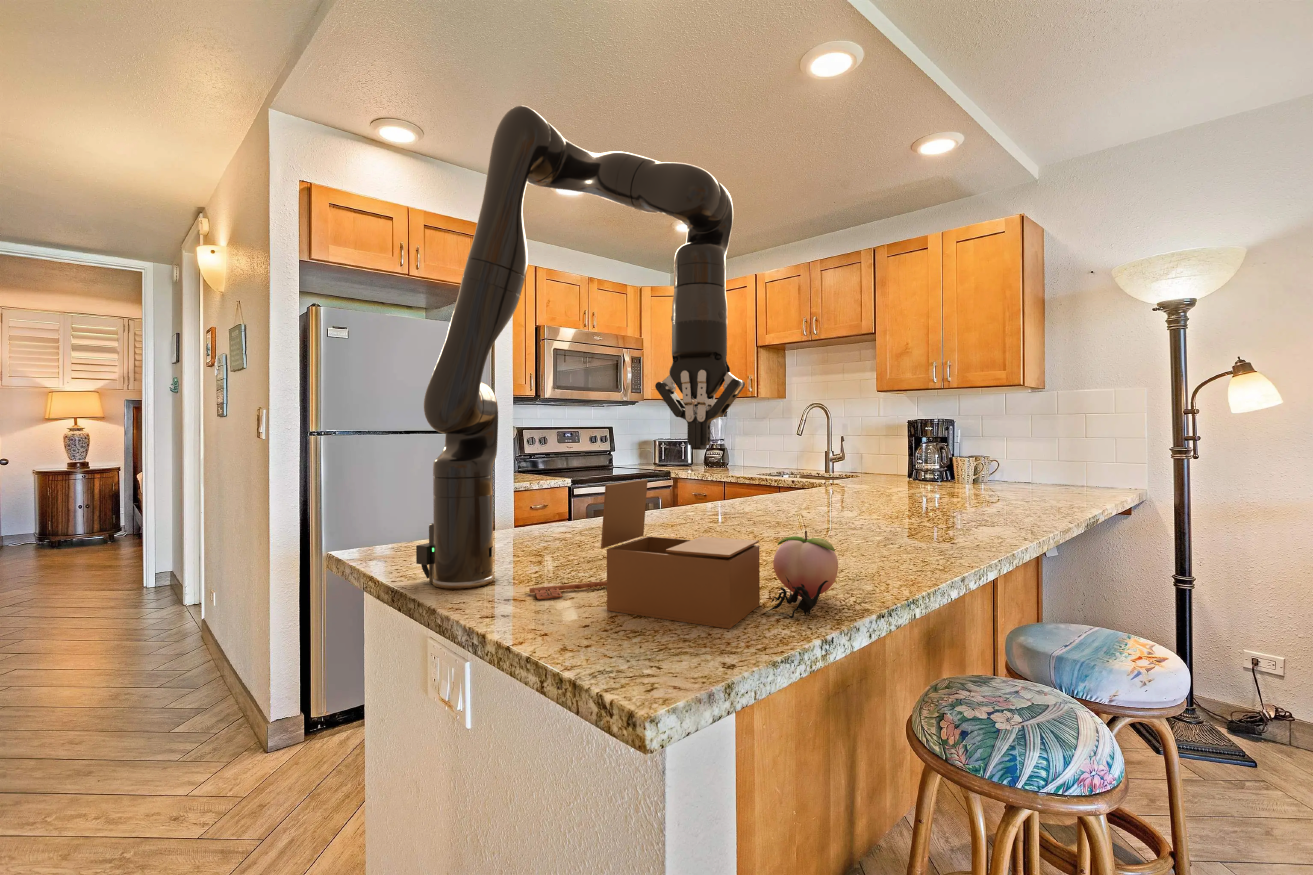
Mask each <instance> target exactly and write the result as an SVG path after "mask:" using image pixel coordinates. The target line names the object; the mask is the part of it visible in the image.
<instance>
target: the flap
mask: <svg viewBox="0 0 1313 875" xmlns="http://www.w3.org/2000/svg"><path fill="white" fill-rule="evenodd" d="M689 540H690V541H688V542H685V543H682V544H680V545H677V546H674V547H672V548H669V549H666V552H673V553H684V554H696V555H707V556H719V557H731V556H733V555H735V554H737V553H739V552H741V551H743V550H745V549H747V548H749V547H751V546H753V545H758V544H759V543H760V540H758V539H746V538H733V537H731V538H730V537H717V536H703V535H701V536H698V537H696V538H693V539H689Z"/></svg>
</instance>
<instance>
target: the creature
mask: <svg viewBox="0 0 1313 875" xmlns="http://www.w3.org/2000/svg"><path fill="white" fill-rule="evenodd" d="M786 578H787V577H786ZM787 580H788V578H787ZM789 582H790V581H789V580H788V584H789ZM826 582H828V581H824V582H823V583H822V584H821V585H820V586H819V587H818V590H817V594H816V596H815V597H813V598H810V596H809V593H808V591H807V590H806V589H805V586H804V585H803V584H801V586H802V587H801V586H798V587H793V586H792V585H791V586H792V588H793V589H795V591H794V593H793V592H791V591H790V590H789V591H788V590H786V588H785V587H782V586H781V587H780V590H781V591H780V592H779V594H778V596H777V597H776V596H774V597H773V598H772V599H771V602H770V604H772V603H773V602H774V603H777V604H776V605H774V606H773V607H772V608H770V609H768V610H766V611H765V612H764V615H769V614H771V612H770V611H773V610H776V609H779V608H781V606H782V605H783V603H784V602H786V604H788V605H792V604H796V603H797V602H798V600H799V596H798V593H799V594H800V596H801V597H802V598H801V597H800V598H801V599H800V601H799V602H798V604H797V606H796V607H795V608H794V609H793V611H792V613H791V615H790V614H787V613H786V614H785V612H781V614H782V615H783V616H788V617H789V618H790V619H794V616H795V614H796V611H799V610H800V611H802V612H803V614H804V616H806V615H807V614H808V615H811V610H812V609H813V608H815V607H816V605H817V603H818V600H819V598H820V596H821V594H820V593H821V589H822V587H823V585H824V584H825V583H826ZM790 584H791V583H790ZM789 588H790V587H789ZM800 591H802V593H803V594H802V593H801V592H800ZM787 593H788V594H789V596H787V595H788V594H787ZM774 600H775V601H774ZM769 612H770V613H769Z"/></svg>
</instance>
